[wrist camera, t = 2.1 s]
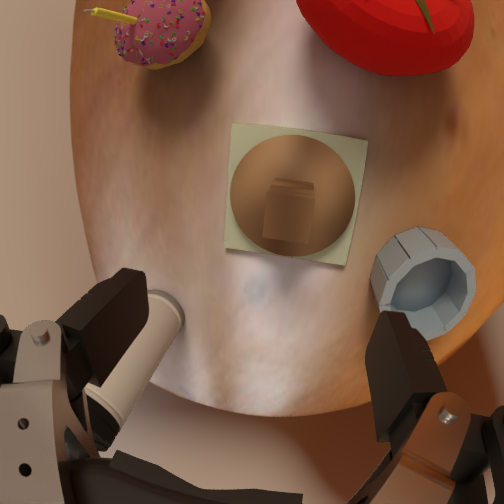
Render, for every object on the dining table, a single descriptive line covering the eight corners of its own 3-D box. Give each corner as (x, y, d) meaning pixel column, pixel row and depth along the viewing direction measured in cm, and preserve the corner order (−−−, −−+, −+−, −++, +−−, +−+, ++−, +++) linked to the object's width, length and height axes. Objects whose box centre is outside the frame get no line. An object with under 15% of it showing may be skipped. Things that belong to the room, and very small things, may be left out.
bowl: (466, 237, 24) (489, 256, 20) (436, 316, 29) (451, 343, 24) (384, 220, 26) (398, 238, 21) (360, 308, 30) (367, 337, 25)
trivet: (367, 140, 23) (368, 140, 23) (344, 262, 28) (345, 265, 28) (233, 123, 25) (232, 123, 24) (225, 245, 30) (224, 247, 29)
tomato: (293, 70, 22) (285, 34, 13) (299, -39, 17) (292, -100, 7) (443, 101, 20) (506, 95, 11) (440, -7, 15) (484, -47, 5)
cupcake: (146, 85, 24) (62, 74, 14) (140, 17, 21) (64, -16, 10) (229, 63, 22) (174, 23, 12) (218, -9, 19) (167, -69, 8)
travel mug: (138, 280, 34) (31, 398, 16) (188, 299, 33) (98, 440, 15) (137, 319, 36) (51, 432, 18) (182, 337, 36) (109, 467, 18)
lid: (362, 145, 23) (381, 151, 17) (341, 260, 28) (349, 299, 21) (237, 128, 24) (213, 129, 18) (229, 243, 29) (207, 277, 23)
